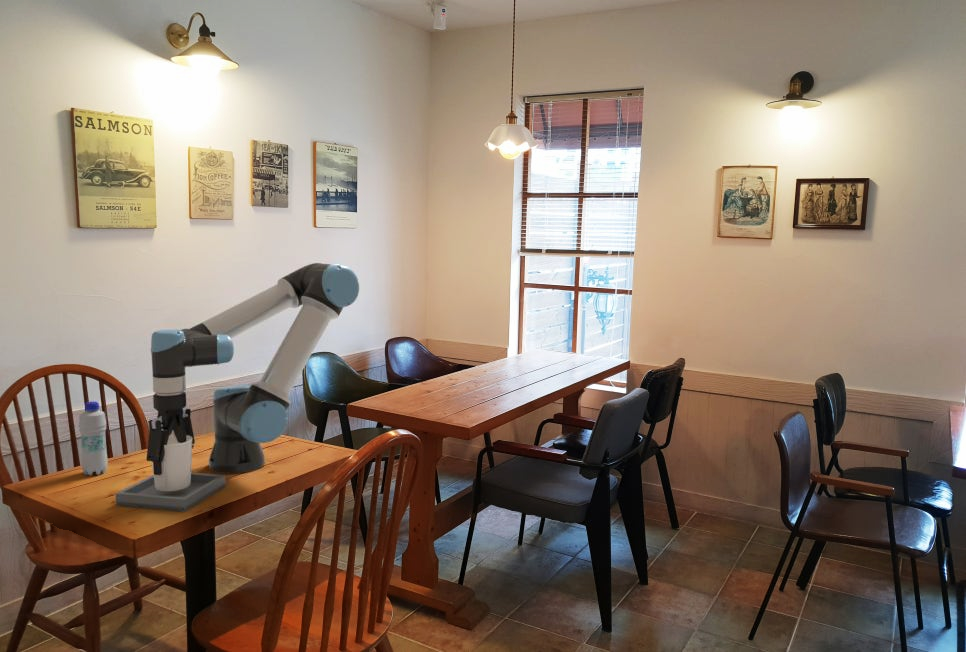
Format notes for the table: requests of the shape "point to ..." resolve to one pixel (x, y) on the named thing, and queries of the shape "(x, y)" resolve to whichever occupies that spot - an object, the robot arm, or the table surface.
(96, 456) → the bottle
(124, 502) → the tray
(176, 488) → the candle holder
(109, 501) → the table surface
